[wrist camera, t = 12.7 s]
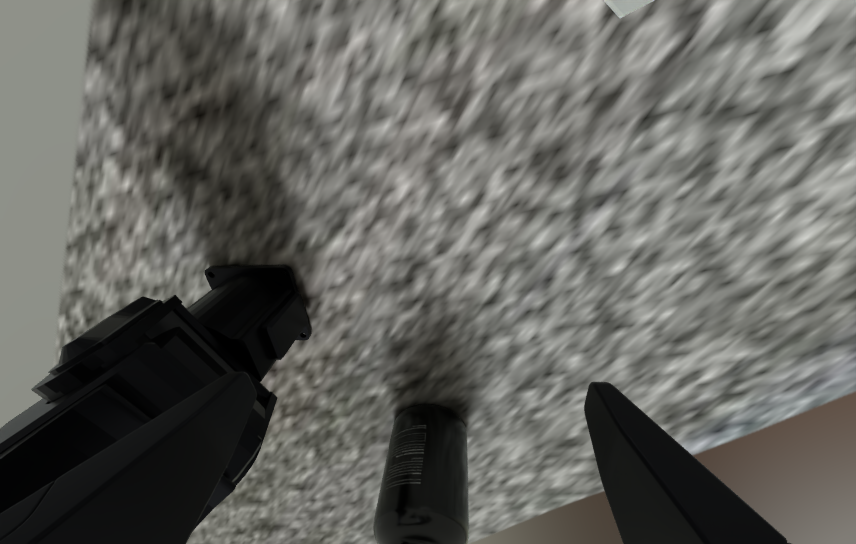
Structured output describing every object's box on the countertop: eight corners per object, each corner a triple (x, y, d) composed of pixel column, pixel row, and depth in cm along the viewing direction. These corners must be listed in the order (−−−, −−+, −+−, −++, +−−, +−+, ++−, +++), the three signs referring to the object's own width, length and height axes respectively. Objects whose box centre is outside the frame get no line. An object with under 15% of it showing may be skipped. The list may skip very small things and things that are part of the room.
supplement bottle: (393, 442, 31) (357, 616, 21) (395, 396, 28) (354, 574, 17) (462, 453, 31) (461, 634, 20) (473, 407, 28) (478, 596, 17)
